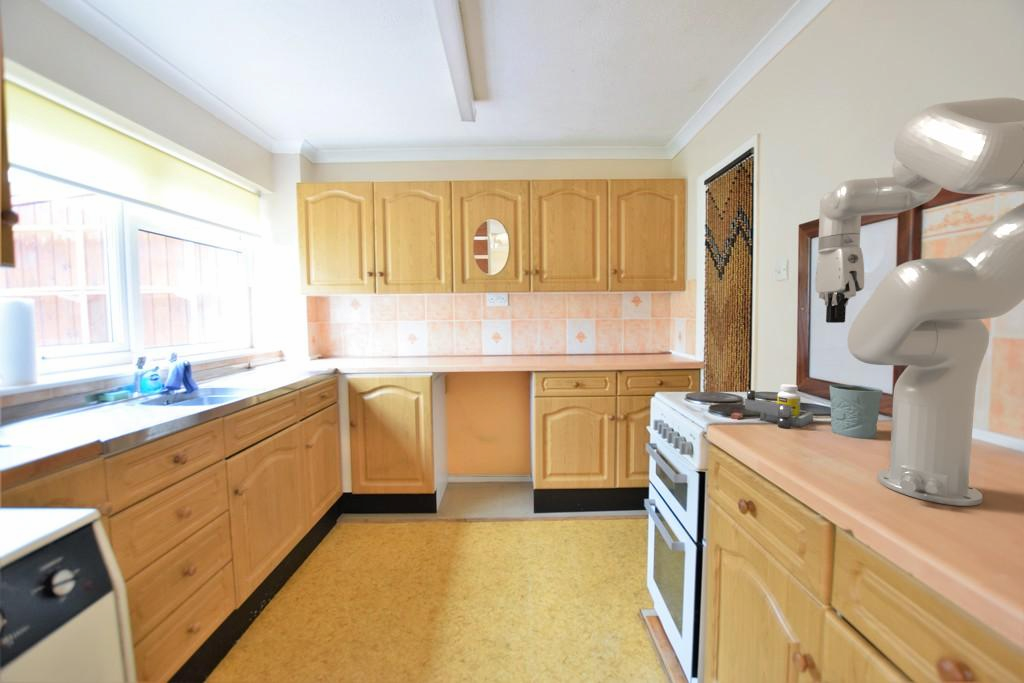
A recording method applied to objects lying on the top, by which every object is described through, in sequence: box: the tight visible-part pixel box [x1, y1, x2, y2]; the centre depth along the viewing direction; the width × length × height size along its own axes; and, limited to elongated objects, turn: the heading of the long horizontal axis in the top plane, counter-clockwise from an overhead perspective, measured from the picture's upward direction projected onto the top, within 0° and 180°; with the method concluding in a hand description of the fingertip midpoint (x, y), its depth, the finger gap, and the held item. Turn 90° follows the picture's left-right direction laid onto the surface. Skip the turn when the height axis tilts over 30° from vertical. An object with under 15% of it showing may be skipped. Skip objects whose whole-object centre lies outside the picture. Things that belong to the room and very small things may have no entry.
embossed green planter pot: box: [829, 384, 883, 440], centre depth 99 cm, size 10×10×12 cm
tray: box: [759, 409, 814, 428], centre depth 112 cm, size 10×10×2 cm
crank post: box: [730, 412, 792, 430], centre depth 110 cm, size 3×15×3 cm, turn 37°
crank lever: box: [744, 389, 792, 418], centre depth 109 cm, size 12×3×6 cm, turn 27°
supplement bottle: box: [776, 383, 801, 421], centre depth 111 cm, size 5×5×10 cm
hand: (835, 322), depth 93 cm, fingers closed
